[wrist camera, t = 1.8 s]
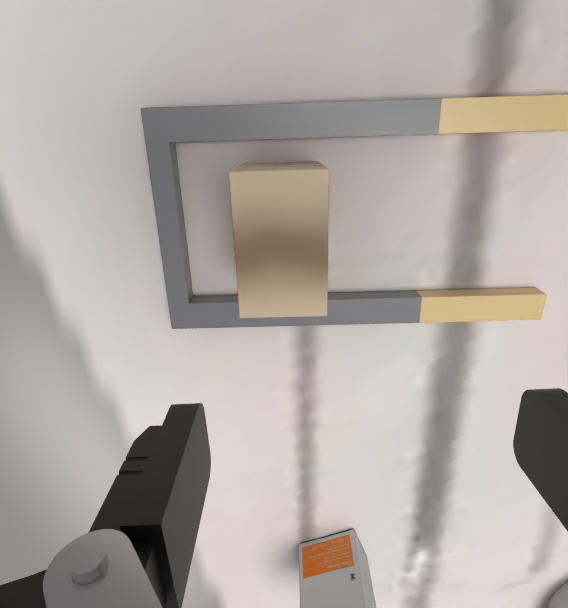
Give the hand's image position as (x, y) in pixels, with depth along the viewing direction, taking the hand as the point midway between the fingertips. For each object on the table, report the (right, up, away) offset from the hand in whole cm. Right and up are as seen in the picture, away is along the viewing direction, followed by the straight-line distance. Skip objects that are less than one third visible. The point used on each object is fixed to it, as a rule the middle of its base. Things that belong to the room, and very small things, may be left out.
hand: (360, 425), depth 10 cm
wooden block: (-2, +9, +19) cm, 21 cm away
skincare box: (+3, -21, +31) cm, 38 cm away
